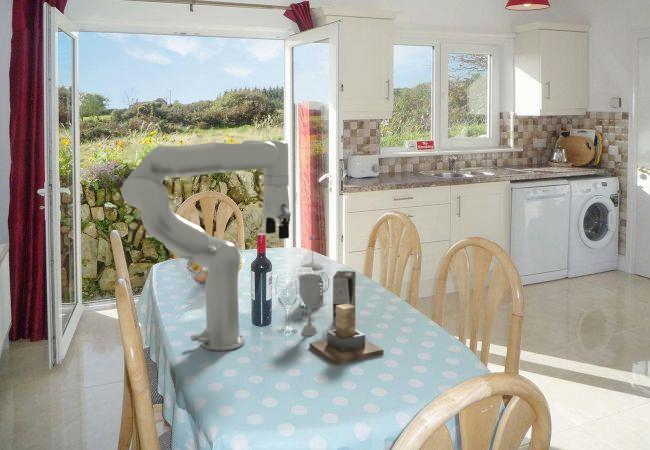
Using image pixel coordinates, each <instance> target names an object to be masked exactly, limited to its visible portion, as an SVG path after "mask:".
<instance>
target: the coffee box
mask: <svg viewBox="0 0 650 450" xmlns="http://www.w3.org/2000/svg"><path fill="white" fill-rule="evenodd" d="M347 303H348V304H350V305H352V306H354V307H355V308H356V271H350V270H342V271H341V270H337V271H336V272H335V274H334V275H333V276H332V325H333V326H334V325H335V326H336V305H342V304H347Z"/></svg>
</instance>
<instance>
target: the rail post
mask: <svg viewBox="0 0 650 450" xmlns="http://www.w3.org/2000/svg"><path fill="white" fill-rule="evenodd" d="M355 329H356V306H355V307H354V306H352V305H350V304H348V303H347V304H342V305H336V325H335V330H336V334H337V335H338V336H340V337H342V338H345V337H350V336H355Z"/></svg>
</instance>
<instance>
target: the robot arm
mask: <svg viewBox="0 0 650 450" xmlns="http://www.w3.org/2000/svg"><path fill="white" fill-rule="evenodd" d="M260 169H263V186H264V187H263V197H262V198H263V199H262V203H263V204H262V213H263V215H264V216H265V217H264V220H265V234H275V233H276V232H277V230H276V227H277V225H276V223H277V222H276V221H277V220H278V224H279V225H278V238H279V240H283V239H290V224H291V223H290V222H291V215H292V214H291V211H290V199H289V197H290V196H289V188H288V187H289V186H290V185H289V181H290V180H289V179H290V178H289V144H288V142H287V141H286V140H281V139H274V140H272V139H271V140H270V139H269V140H256V139H255V140H254V139H251V140H249V139H248V140H244V141H243V142H241V143H227V142H226V143H225V142H208V143H206V142H205V143H199V144H196V143H195V144H187V145H185V144H183V145H173V146H171V145H158V146H155V147H154V148H153V149H151V151H149V152H148V153H147V154H146V156H144V158H143V159H142V160H141V161H140V162H139V163H138V165H137V166H136V167H135V168H134V169H133V170H132V171H131V172H130V174H129V175H128V176H127V178H125V180H124V182H123V184H122V186H121V192H120V193H121V197H122V199H123V201H124V202H125V203H126V205H128V206H131V207H133V208H137V209H140V219H141V222H142V225H143V228H144V229H145V231H146V232H147V233H148V234H149V235H151V237H153V238H155V239H157V240H158V241H160V242H162V244H163V246H164V247H165V249H167V250H169V252H171V253H174V254H175V255H178V256H180V257H181V258H183V259H185V260H187V261H189V262H192V263H193V264H195V265H197V266H200V267H202V268H205V269H208V271H207V276H206V279H205V283H204V284H205V285H204V286H205V287H204V289H205V290H204V291H205V292H204V293H205V311H206V312H205V313H206V315H205V316H206V317H205V319H206V328H203V331H202V332H201V333H199V334H198V333H196V334H191V335H190V340H191V342H197V343H199V344H200V343H201V345H202V348H205V349H207V350H211V351H218V352H219V351H220V352H221V351H231V350H235V349H238V348H240V347H242V346H243V345H244V344H245V337H244V336H243V335H241V334H240V322H239V321H240V317H239V316H240V315H239V313H240V312H239V270H240V263H241V253H240V250H239V248H238V247H237V246H236V245H235V244H234V243H233V242H231V241H230V240H229V241H228V240H225V239H223V238H219V237H215V236H211V235H209V234H208V233H207V232H206V231H205V229H204V228H202V227H201V226H200V225H197V224H196V223H193V222H191V221H189V220H187V219H185V218H183V217H182V216H181V215H178V214H177V213H176V212H174V211H173V210H172V209H171V206H170V200H169V199H170V198H169V192H168V189H167V188H166V186H165V185H164V184H163V181H164V180H165V179H166V177H168V178H176V179H177V178H186V177H193V176H201V175H209V174H217V173H221V174H222V173H231V172H239V171H252V170H260ZM276 219H277V220H276Z"/></svg>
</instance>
